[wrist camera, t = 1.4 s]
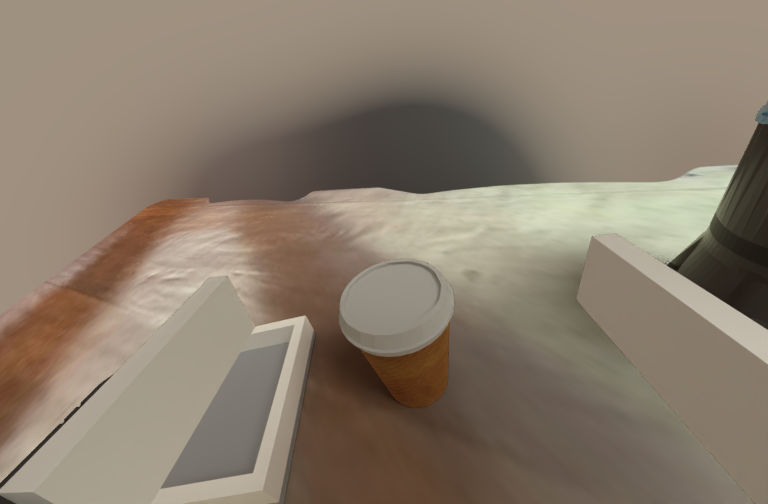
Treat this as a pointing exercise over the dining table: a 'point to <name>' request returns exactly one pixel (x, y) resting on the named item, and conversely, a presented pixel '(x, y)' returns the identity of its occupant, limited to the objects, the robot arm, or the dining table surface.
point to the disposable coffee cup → (402, 326)
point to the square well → (248, 424)
